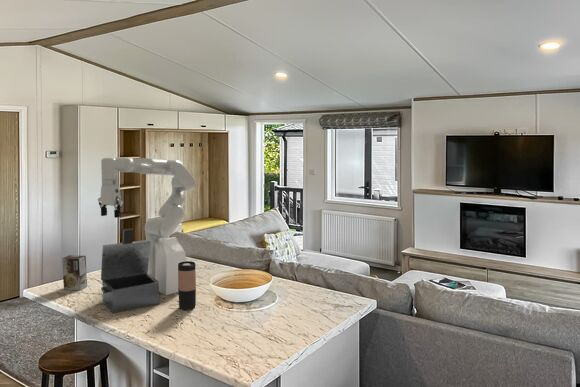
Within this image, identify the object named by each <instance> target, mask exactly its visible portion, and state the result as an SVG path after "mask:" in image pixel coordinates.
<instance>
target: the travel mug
mask: <svg viewBox="0 0 580 387" xmlns="http://www.w3.org/2000/svg"><path fill="white" fill-rule="evenodd" d="M196 273H197V272H196V261H195V262H194V261H188V260H186V261H185V262H180V263H178V292H177V293H178V309H179V310H181V309H182V310H181V311H190V309H191V310H194V309H195V308H196V307H195V306H197V304H196V303H197V283H196V282H197V281H196V280H197V277H196ZM193 308H194V309H193Z"/></svg>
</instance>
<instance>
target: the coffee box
mask: <svg viewBox="0 0 580 387" xmlns="http://www.w3.org/2000/svg"><path fill="white" fill-rule="evenodd" d="M86 258H87V257H86V255H74V254H73V255H71V254H69V255H67V256H64V257H61V262H62V264H61V265H62V277H63V279H62V280H63V290H64V291H82V290H84V289H85V288H87V287H88V278H87V277H88V276H87V274H88V273H87V259H86Z"/></svg>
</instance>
